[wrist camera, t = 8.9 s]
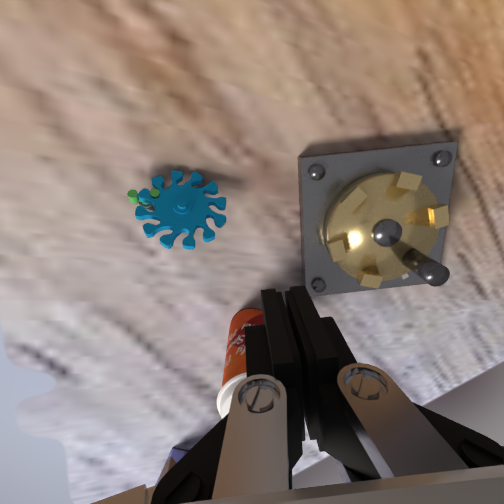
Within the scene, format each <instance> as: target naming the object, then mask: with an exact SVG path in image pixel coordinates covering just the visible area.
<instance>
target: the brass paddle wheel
mask: <svg viewBox="0 0 504 504" xmlns="http://www.w3.org/2000/svg"><path fill="white" fill-rule="evenodd" d="M421 179H422V176H420V175H415V174H411V173H406V172H401V171H397V172H396V173H375V174H371V175H367V176H365V177H362V178H360V179H358V180H356V181H355V182H353V183H352V184H350V185H349V186H348V187H346V188H345V189H344V190H343V191H342V192H341V193H340V194H339V196H338V197H337V198H336V199H335V201H334V202H333V204H332V206H331V208H330V210H329V212H328V215H327V218H326V222H325V241H326V245H327V248H328V250H329V253H330V257H331V260H332V261H333V262H337V263H338V265H339V266H340V267H341V268H342V269H343V270H344V271H345V272H346V273H348V274H349V275H351V276H353V277H355V278H357V279H358V280H357V283H358V284H359V285H360V286H366V287H372V288H379V286H380V283H381V282H382V281H388V280H392V279H395V278H398V277H400V276H402V275H404V274H406V273H408V272H409V271H412V272H413V273H415V274H416V275H417V276H419V277H420V278H421V279H423V280H424V281H426V282H427V283H428V284H430V285H431V286H440V285H443V284H444V283H445V282H446V281H447V280H448V278H449V275H450V272H449V270H448V268H447V267H445V266H443V265H442V264H440V263H438V262H437V261H435V260H433V259H432V258H430V257H428V256H427V255H428V254H429V252H430V251H431V249H432V247H433V245H434V244H435V242H436V239H437V236H438V233H439V229H440V228H441V227H444V226H447V225H450V223H449V212H448V205H446V204H443V203H441V204H438V202H437V200H436V198H435V196H434V194H433V193H432V192H431V190H430V189H429V188H428V187H427V186H426V185H425V184H423V183H422V182H420V181H421Z"/></svg>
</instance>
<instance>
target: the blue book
mask: <svg viewBox="0 0 504 504" xmlns="http://www.w3.org/2000/svg"><path fill="white" fill-rule="evenodd" d="M188 452H189V451H187V450H183V449H179V448H174V447H173V448H172V450H171V452H170V455H169V457H168V459H167V461H166V463H165V466H164V468H163V470H162V472H161V474H160V477H159V479H158V481H157V483H156V485H157V484H158V482H159V481H160V480H161V479H162V478H163V476H164V475H165V474H166V473H167V472H168V471H169V470H170V469H171V468H172V467H173V466H174V465H175V464H176V463H177V462H178V461H179V460H180V459H181V458H182V457H183V456H184V455H185V454H186V453H188Z"/></svg>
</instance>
